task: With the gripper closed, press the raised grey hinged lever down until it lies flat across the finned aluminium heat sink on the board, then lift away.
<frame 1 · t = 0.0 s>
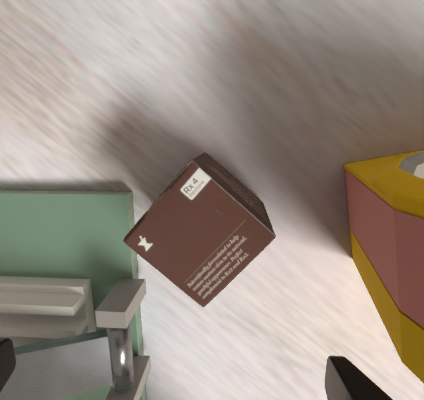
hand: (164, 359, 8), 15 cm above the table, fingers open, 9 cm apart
board: (31, 310, 26), on the table
box: (209, 204, 22), on the table
grey hinged lever: (4, 382, 18), point 7 cm above the table, hinge at 22.0°
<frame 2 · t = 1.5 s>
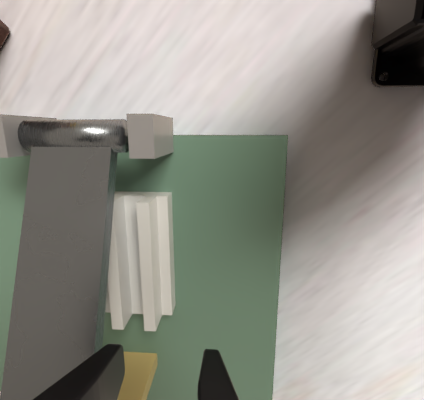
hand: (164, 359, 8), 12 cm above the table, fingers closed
board: (124, 274, 21), on the table
grey hinged lever: (60, 282, 13), point 7 cm above the table, hinge at 22.0°
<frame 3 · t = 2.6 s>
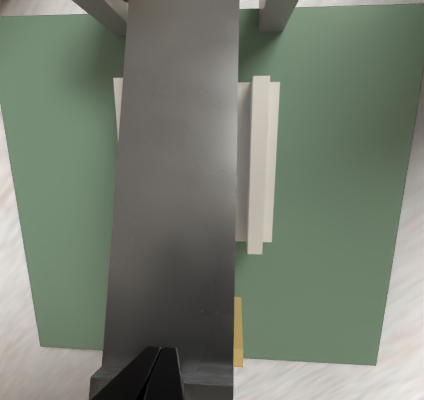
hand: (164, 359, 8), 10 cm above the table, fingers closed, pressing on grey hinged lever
board: (201, 202, 18), on the table
grey hinged lever: (177, 156, 10), point 7 cm above the table, hinge at 21.2°, touching gripper
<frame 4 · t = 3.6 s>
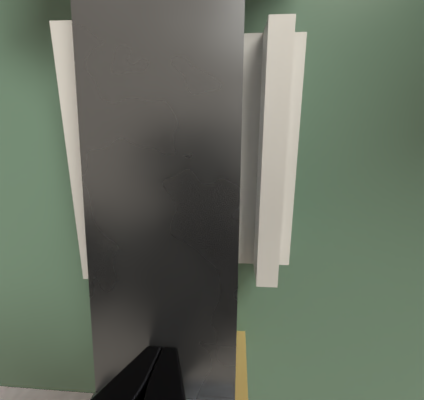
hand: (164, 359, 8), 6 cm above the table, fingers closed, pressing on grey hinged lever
board: (193, 207, 13), on the table
grey hinged lever: (161, 156, 7), point 5 cm above the table, hinge at 5.9°, touching gripper
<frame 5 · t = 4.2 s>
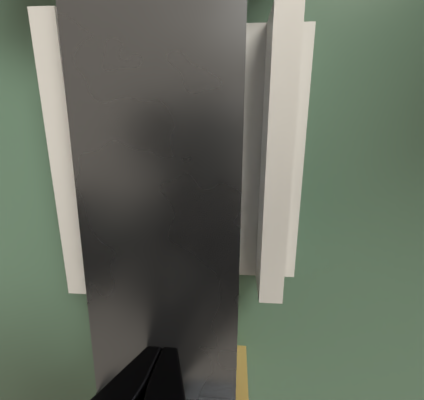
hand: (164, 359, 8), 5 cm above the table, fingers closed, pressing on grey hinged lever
board: (191, 212, 12), on the table
grey hinged lever: (158, 158, 7), point 5 cm above the table, hinge at 2.0°, touching gripper
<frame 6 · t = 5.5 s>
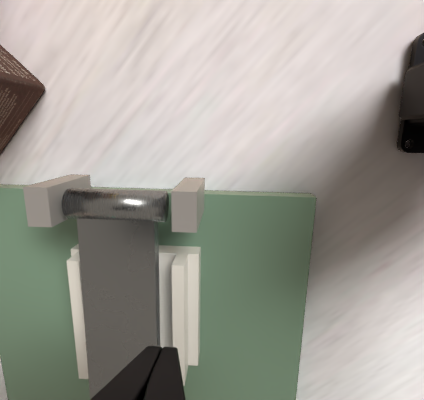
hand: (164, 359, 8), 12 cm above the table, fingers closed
board: (148, 320, 21), on the table
grey hinged lever: (122, 329, 16), point 5 cm above the table, hinge at 2.0°
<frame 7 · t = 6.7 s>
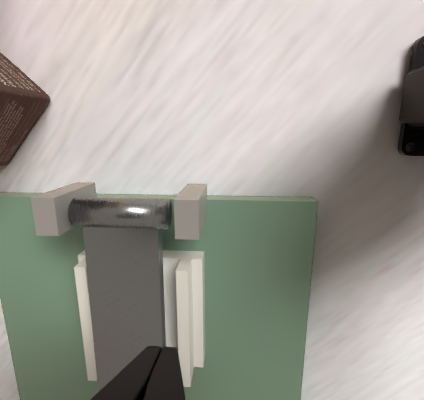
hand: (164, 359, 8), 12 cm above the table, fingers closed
board: (154, 322, 22), on the table
grey hinged lever: (128, 333, 16), point 5 cm above the table, hinge at 2.0°
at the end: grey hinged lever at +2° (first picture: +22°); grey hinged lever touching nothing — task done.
